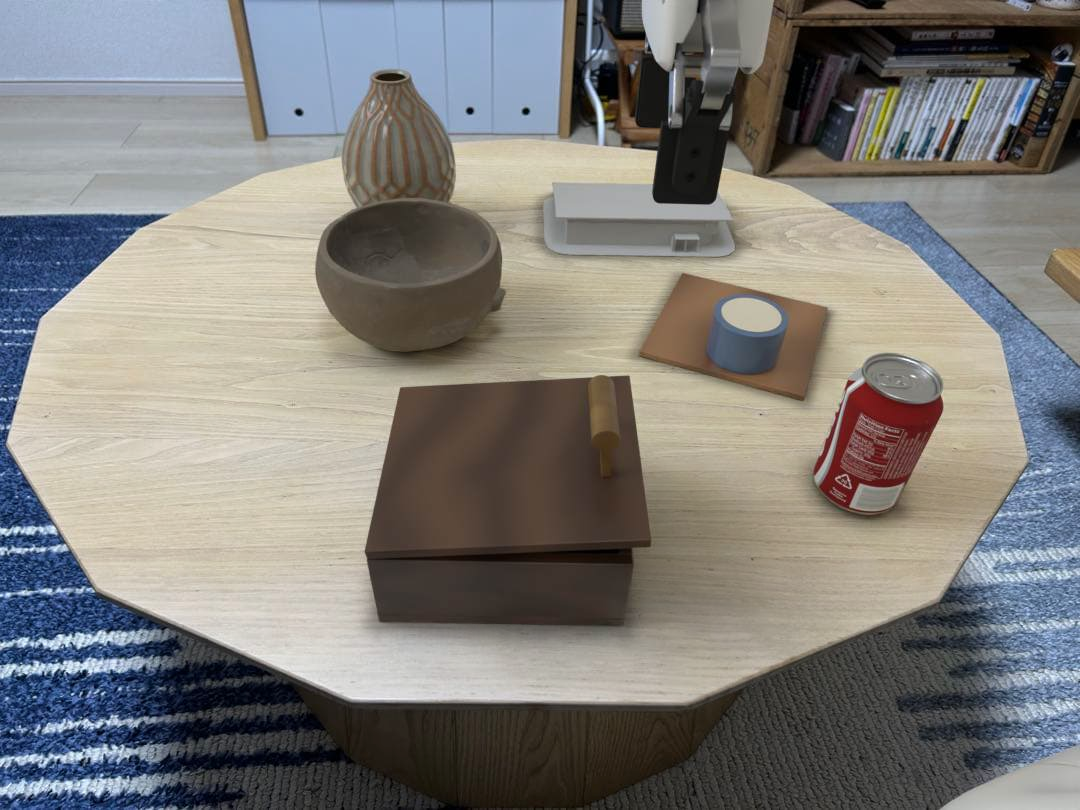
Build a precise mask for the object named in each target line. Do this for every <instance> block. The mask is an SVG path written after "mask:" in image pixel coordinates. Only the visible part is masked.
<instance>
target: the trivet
mask: <svg viewBox="0 0 1080 810" xmlns="http://www.w3.org/2000/svg"><path fill="white" fill-rule="evenodd" d="M732 295H754V296H759V297H762V298H765V299H768V300H770V301H772V302H774V303H776V304H777V305H779V306H780V307H781V308H782V309H783V310H784V311H785V312H786V313H787V315H788V318H789V324H788V328H787V331H786V335H785V338H784V341H783V345H782V348H781V351H780V355H779V358H778V362H777V364H776V365H775V366H774V367H773V368H772V369H771V370H769V371H767V372H765V373H761V374H755V375H745V374H738V373H734V372H731V371H728V370H725V369H723V368H721V367H720V366H718V365H717V364H715V363H714V362H713V361H712V360H711V359H710V358H709V356H708V354H707V351H706V344H707V339H708V334H709V330H710V325H711V320H712V316H713V311H714V307H715V305H716V304H717V303H718V301H720V300H721V299H723V298H725V297H728V296H732ZM827 312H828V307H827V306H823V305H819V304H816V303H812V302H807V301H804V300H803V301H802V300H798V299H794V298H790V297H786V296H782V295H777V294H773V293H769V292H765V291H761V290H756V289H752V288H749V287H744V286H740V285H736V284H731V283H726V282H722V281H718V280H715V279H711V278H706V277H703V276H698V275H693V274H691V273H690V274H689V273H685V272H682V273H681V274H680V276H679V278H678V280H677V281H676V283H675V286H674V287H673V289H672V291H671V293H670V295H669V297H668V298H667V300H666V302H665V304H664V305H663V308H662V309H661V311H660V313H659V315H658V317H657V318H656V320H655V322H654V324H653V326H652V327H651V329H650V331H649V333H648V334H647V336H646V338H645V340H644V342H643V344H642V346H641V347H640V349H639V351H638V356H639V357H642V358H645V359H649V360H654V361H656V362H660V363H664V364H667V365H671V366H675V367H677V368H678V367H679V368H682V369H687V370H690V371H694V372H697V373H701V374H703V375H708V376H711V377H715V378H718V379H722V380H726V381H729V382H734V383H736V384H737V383H738V384H741V385H745V386H748V387H752V388H755V389H759V390H762V391H766V392H769V393H774V394H776V395H781V396H785V397H788V398H791V399H795V400H798V401H804V400H805V397H806V393H807V390H808V386H809V381H810V378H811V374H812V369H813V367H814V362H815V359H816V355H817V351H818V347H819V342H820V339H821V335H822V332H823V328H824V324H825V319H826V316H827Z"/></svg>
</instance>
